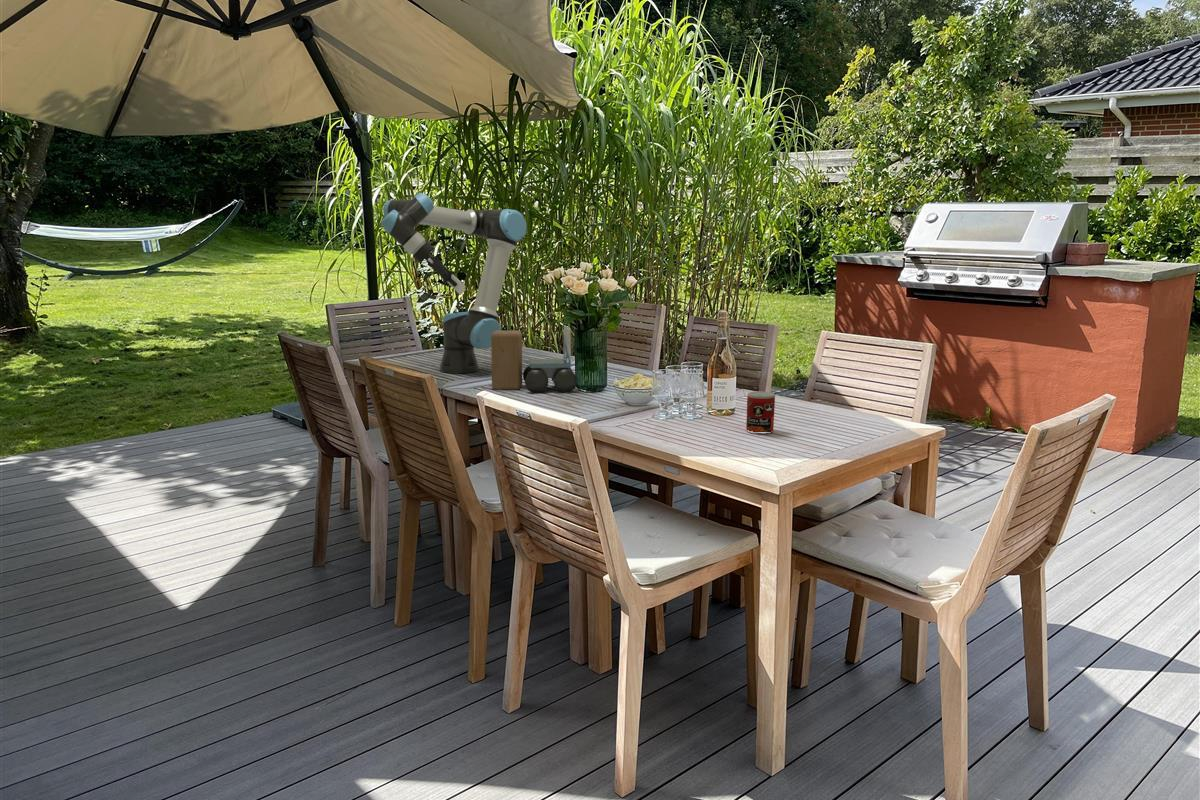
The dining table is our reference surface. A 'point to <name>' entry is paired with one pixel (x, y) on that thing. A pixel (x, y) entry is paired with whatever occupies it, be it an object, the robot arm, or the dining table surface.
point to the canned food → (760, 411)
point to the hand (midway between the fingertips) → (463, 290)
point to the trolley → (552, 370)
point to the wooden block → (506, 359)
